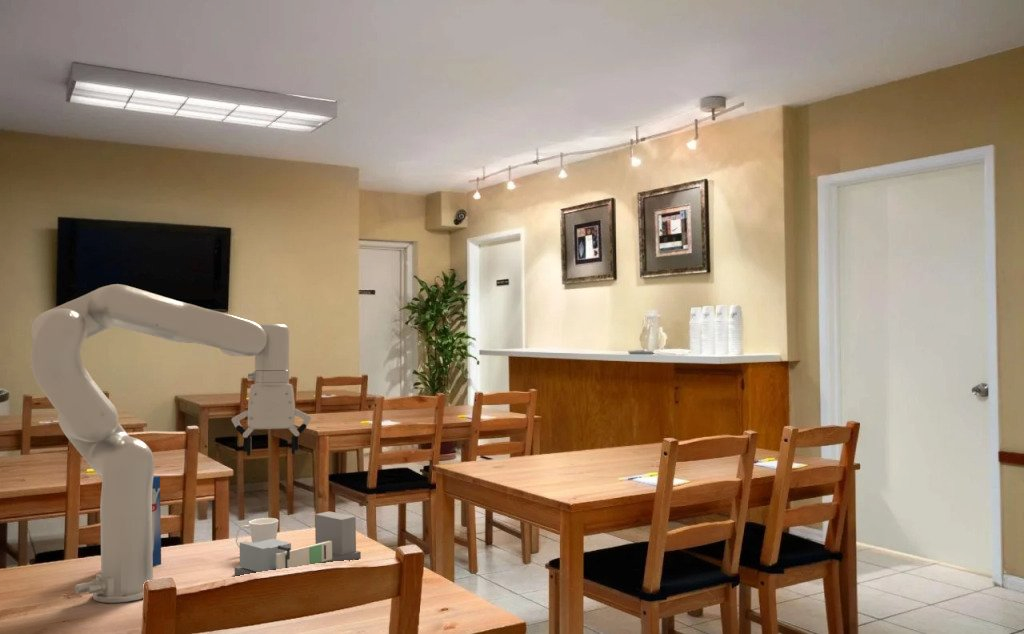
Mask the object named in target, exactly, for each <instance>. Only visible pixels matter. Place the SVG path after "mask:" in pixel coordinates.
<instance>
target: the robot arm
mask: <svg viewBox="0 0 1024 634" xmlns="http://www.w3.org/2000/svg"><path fill="white" fill-rule="evenodd" d="M112 327H119V328H122V329H126V330H130V331H135V332H138V333H142V334H145V335H149V336H152V337H156V338H159V339H163V340H166V341H172V342H175V343H183V344H185V343H186V344H196V345H203V346H208V347H212V348H213V347H214V348H217V349H219V350H220V351H221V352H222V353H224V354H225V355H227V356H230V357H254V370H253V372H250V373H247V380H252V381H254V382H253V383H254V384H251V385H250V388H249V393H248V401H247V402H248V404H247V406H248V407H247V409H246V410H245V411H243V412H241V413H239V414H237V415H235V416H233V417H231V422H232V424H233V426H234V427H235V429H236V432H238V433H239V434H240V435H241V436H242V438H243V439H244V440H243V442H244V443H243V445H244V446H243V450H244V451H243V453H245V452H246V453H247V454H246V456H251V455H252V454H253V451H252V448H253V446H252V445H253V443H252V442H253V441H252V439H253V438H252V436H251V435H252V434H251V433H253V432H254V430H280V429H281V430H282V429H288V430H289V431H290V432H291V434H292V436H291V455H295V454H296V451H299V436H300V435H301V434H302V433H303V432H304V431H305V430H306V429H307V427H308V425H309V423H310V422H311V420H312V416H311V415H309V414H307V413H305V412H303V411H301V410H299V409H297V408H296V404H295V393H294V392H295V391H294V387H293V384H292V383H290V329H289V327H288V325H286V324H281V323H262V324H261V323H260V324H258V323H257V322H254V321H251V320H249V319H245V318H241V317H238V316H235V315H232V314H229V313H225V312H221V311H218V310H214V309H210V308H205V307H202V306H198V305H195V304H192V303H187V302H184V301H180V300H176V299H173V298H170V297H166V296H163V295H160V294H157V293H153V292H150V291H147V290H143V289H140V288H136V287H133V286H129V285H127V284H121V283H120V284H119V283H116V284H115V283H114V284H109V285H105V286H104V285H103V286H101V287H98V288H96V289H95V290H92V291H90V292H88V293H86V294H84V295H81V296H79V297H77V298H75V299H72V300H70V301H66V302H65V303H62V304H61V305H57V306H56V307H52V308H50V309H49V310H46V311H44V312H42V313H40V314H39V315H38V316H37V317H36V318H35V319H34V321H33V322H32V325H31V329H30V330H31V331H30V332H31V333H30V335H31V337H32V339H33V342H32V345H31V351H30V367H31V372H32V374H33V377H34V379H35V381H36V383H37V385H38V387H39V388H40V389H41V391H42V392H43V394H44V395H45V397H46V398H47V399H48V400H49V403H51V405H52V407H53V408H54V409H55V410H56V411H57V413H58V414H57V421H58V425H59V427H60V429H61V431H62V432H63V434H64V435H65V438H66V437H67V439H68V441H69V442H70V443H71V444H72V445H73V447H74V448H75V449H76V451H77V452H78V453H79V454H80V455H81V457H82V458H83V459H84V460H85V462H86V463H87V464H88V465H89V467H90V468H91V469H92V470H93V471H94V472H95V473H96V474H97V475H98V476H99V477H101V478H102V479H101V480H102V481H101V492H100V506H99V507H100V508H99V509H100V511H99V513H100V515H99V516H100V517H99V519H100V573H96V574H95V578H94V579H92V580H91V581H89V582H82V583H77V584H75V587H74V590H75V593H76V595H80V594H85V593H87V594H88V595H90V594H92V598H93V600H94V601H96V602H98V603H99V602H100V603H105V604H106V603H108V604H109V603H110V604H115V603H127V602H134V601H139V600H142V598H143V584H144V582H145V581H147V580H154V566H153V545H152V485H153V477H154V476H155V457H154V454H153V452H152V449H151V448H150V446H148V445H147V444H146V442H144V441H143V440H141V439H139V438H137V437H133V436H130V435H129V434H128V433H127V431H126V430H125V428H123V426H122V425H121V424H120V423H119V420H120V417H119V413H118V410H117V408H116V406H115V405H114V404H113V403H112V401H111V400H110V399H109V398H108V397H107V395H106V394H105V393H104V392H103V391H102V389H101V388H100V386H99V385H98V384H97V383H96V382H95V380H94V379H93V378H92V376H91V375H90V373H89V372H88V370H87V369H86V367H85V366H84V364H83V362H82V357H81V349H82V346H83V344H84V342H85V340H86V339H90V338H91V337H94V336H96V335H98V334H100V333H103V332H104V331H106V330H108V329H110V328H112ZM246 417H247V426H248V427H247V429H246V428H244V426H243V425H242V424H241V422H240V421H241V420H243V419H245V418H246ZM296 417H298V418H300V419H302V420H303V421H302V423H301V425H299V427H296V424H295V420H296ZM143 599H144V598H143Z"/></svg>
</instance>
